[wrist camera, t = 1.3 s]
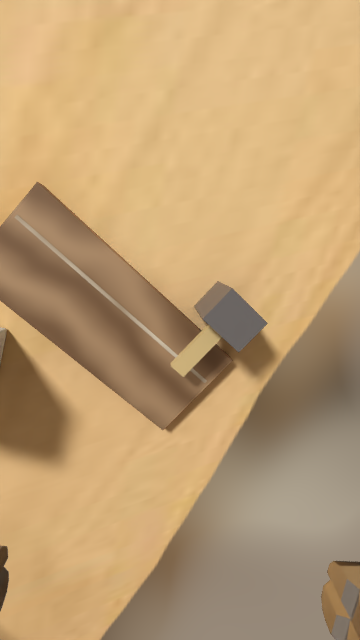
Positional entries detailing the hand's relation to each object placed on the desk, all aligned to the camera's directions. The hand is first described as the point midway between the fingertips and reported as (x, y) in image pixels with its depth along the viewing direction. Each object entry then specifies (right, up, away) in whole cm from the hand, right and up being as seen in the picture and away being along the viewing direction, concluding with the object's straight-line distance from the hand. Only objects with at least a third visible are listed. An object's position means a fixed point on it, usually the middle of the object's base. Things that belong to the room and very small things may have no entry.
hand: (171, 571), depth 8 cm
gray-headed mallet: (+3, +6, +29) cm, 30 cm away
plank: (-8, +7, +28) cm, 30 cm away
